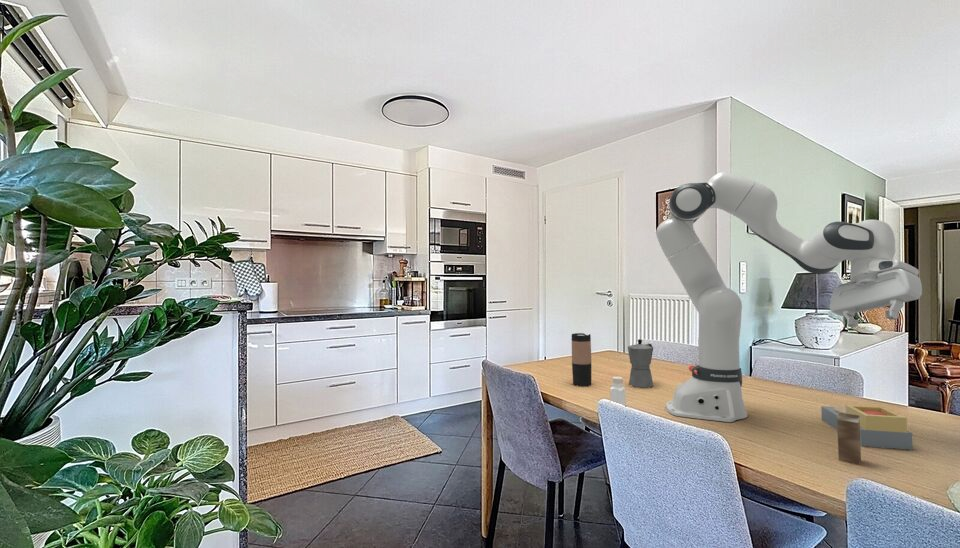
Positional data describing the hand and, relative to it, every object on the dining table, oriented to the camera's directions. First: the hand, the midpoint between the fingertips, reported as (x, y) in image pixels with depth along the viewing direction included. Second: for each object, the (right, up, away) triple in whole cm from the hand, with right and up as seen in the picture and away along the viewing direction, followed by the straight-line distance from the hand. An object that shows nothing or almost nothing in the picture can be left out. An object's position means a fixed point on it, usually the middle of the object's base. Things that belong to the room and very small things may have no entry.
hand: (871, 322), depth 108 cm
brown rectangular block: (-16, -30, -12) cm, 36 cm away
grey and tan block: (+1, -30, +4) cm, 30 cm away
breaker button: (-1, -28, -2) cm, 28 cm away
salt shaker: (-54, -32, +31) cm, 70 cm away
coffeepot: (-36, -32, +59) cm, 76 cm away
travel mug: (-59, -32, +62) cm, 91 cm away
